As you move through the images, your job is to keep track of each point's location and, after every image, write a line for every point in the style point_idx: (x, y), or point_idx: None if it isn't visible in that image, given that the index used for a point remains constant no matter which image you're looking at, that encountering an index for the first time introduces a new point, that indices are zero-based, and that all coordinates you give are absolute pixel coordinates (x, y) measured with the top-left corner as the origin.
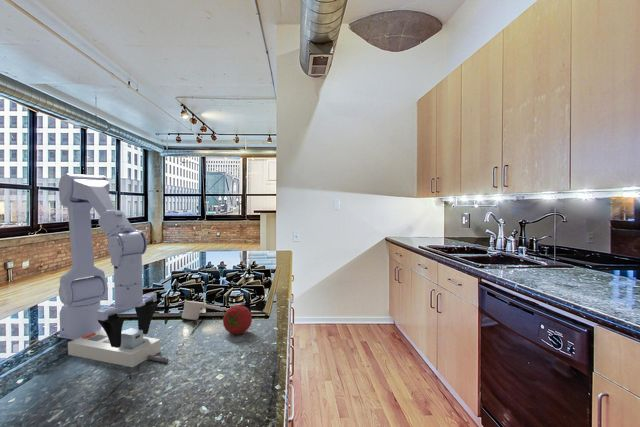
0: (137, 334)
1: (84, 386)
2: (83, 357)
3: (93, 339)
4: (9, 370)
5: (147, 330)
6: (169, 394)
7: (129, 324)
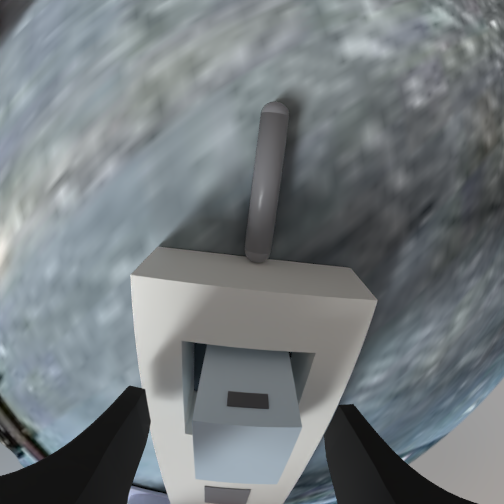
0: (247, 414)
1: (462, 327)
2: None
3: (244, 498)
4: None
5: (128, 399)
6: (465, 8)
7: None
